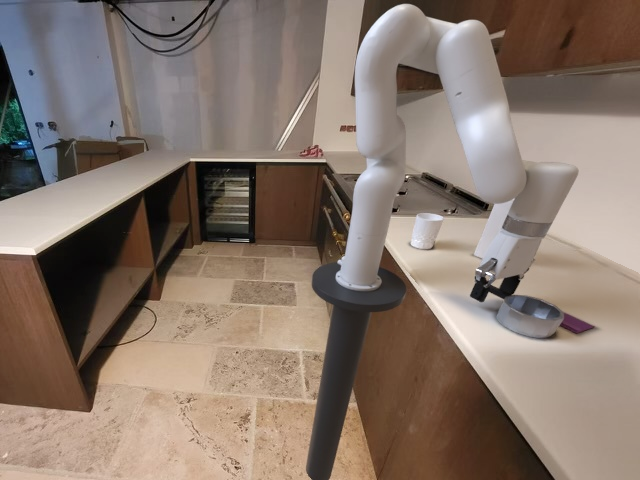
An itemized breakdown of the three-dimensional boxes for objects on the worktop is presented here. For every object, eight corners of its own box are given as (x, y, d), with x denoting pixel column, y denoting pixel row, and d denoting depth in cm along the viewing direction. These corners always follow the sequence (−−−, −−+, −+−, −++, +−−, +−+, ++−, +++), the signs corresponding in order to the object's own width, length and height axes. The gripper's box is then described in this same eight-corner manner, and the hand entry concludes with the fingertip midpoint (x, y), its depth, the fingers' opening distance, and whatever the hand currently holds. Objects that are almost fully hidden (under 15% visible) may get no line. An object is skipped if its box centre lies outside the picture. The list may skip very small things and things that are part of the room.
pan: (466, 305, 78) (473, 288, 75) (495, 297, 80) (503, 281, 78) (532, 342, 66) (543, 324, 63) (564, 331, 68) (576, 314, 66)
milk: (485, 252, 104) (516, 181, 92) (505, 259, 99) (539, 185, 87) (473, 255, 102) (502, 183, 90) (492, 262, 97) (525, 187, 85)
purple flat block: (517, 304, 77) (518, 302, 77) (534, 300, 79) (535, 298, 79) (576, 333, 68) (577, 331, 68) (594, 327, 70) (595, 325, 69)
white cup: (406, 246, 108) (414, 217, 103) (411, 239, 114) (419, 211, 108) (432, 251, 104) (442, 222, 99) (435, 244, 110) (445, 215, 105)
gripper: (534, 216, 73) (501, 282, 82) (478, 225, 68) (450, 294, 77) (572, 227, 67) (532, 296, 76) (514, 238, 62) (479, 311, 71)
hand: (491, 295), depth 76 cm, fingers open, 9 cm apart
